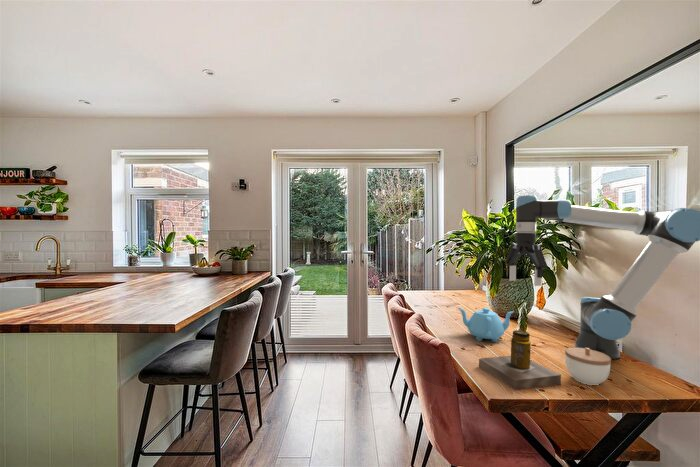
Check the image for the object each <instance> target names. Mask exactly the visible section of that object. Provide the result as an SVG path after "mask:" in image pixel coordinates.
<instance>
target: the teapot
mask: <svg viewBox="0 0 700 467" xmlns="http://www.w3.org/2000/svg"><path fill="white" fill-rule="evenodd" d="M457 309H458V310H459V311H460V312H461V316H462V322H463V324H464V326H465V327H467V329H468V331H469V333H470V334H471V335H473V336H474V337H475V341H483V339H486V340H487V339H488V340H491V342H492V341H493V343H498V342H499V340H498V339H501V337H502V336H503V335H504V334H505V331H506V330H508V329H509V326H510V318H511V315H512V314H513V313H514V312H515V311H513V310H511V311H508V312H507V313H506V314H505V320H504V321H502V320H501V318H500V316H499V315H498V313H497V312H494V311H491V310H490V308H488V307H483V308H482V309H481V310H475V311H474V313H473V314H472V315H471V317H470V318H469V319H468V318H467V313H466V310H464V309H463V308H459V307H457Z"/></svg>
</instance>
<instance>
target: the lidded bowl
mask: <svg viewBox="0 0 700 467" xmlns="http://www.w3.org/2000/svg"><path fill="white" fill-rule="evenodd" d="M564 355H565V357H564V358H565V366H566V369H567V371H568V372H569V374H570V375H571V376H572V377H573V379H574V381H576V382H578V383H580V382H581V383H580V384H583V385H586V384H587V386H592V385H597V386H600V385H599V384H602V383H604V382H605V381H606V380H607V379H608V377H609V376H610V372H611V364H612V359H611V358H610V357H609V356H608V355H606V354H603V353H601V352H598V351H594V350H590V349H589V348H575V347H568V348H565V350H564Z"/></svg>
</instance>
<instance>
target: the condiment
mask: <svg viewBox="0 0 700 467" xmlns="http://www.w3.org/2000/svg"><path fill="white" fill-rule="evenodd" d="M511 337H512V338H511V339H510V340H511V341H510V356H511V362H507V363H505V364H502V365H504V366H506V367H508V368H510V369H513V370H516V371H518V372H521V373H523V372H525V371H528V370H531V369H533V368H535V367H533V366H530V360H531V346H532V345H531V340H530V339H531V338H530V333H529V332H528V331H526V330H525V331H524V330H519V329H518V330H513V331H512V336H511Z"/></svg>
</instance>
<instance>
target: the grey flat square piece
mask: <svg viewBox="0 0 700 467" xmlns="http://www.w3.org/2000/svg"><path fill="white" fill-rule="evenodd" d="M507 362H511V355H503V356H493V357H483V358H478V368H480V369H482V370H483V371H485V372H487V374H489V375H491V376H493V377H494V378H496V379H497V380H499V381H501V382H502V383H503V384H505V385H507V386H508V387H509V388H512V389H513V390H514V391H517V390H524V389H525V390H526V389H532V388H539V387H549V386H554V385H555V386H556V384H557V385H562V374H560V373H558V372H556V371H554V370H552V369H550V368H547V367H546V366H543V365H542V364H539V363H537V362H535V361H533V360H532V359H530V366H533V367H535V368H533V369H531V370H528V371H525V372H523V373H521V372H518V371H516V370H513V369H510V368H508V367H506V366H504V365H502V364H505V363H507Z"/></svg>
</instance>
